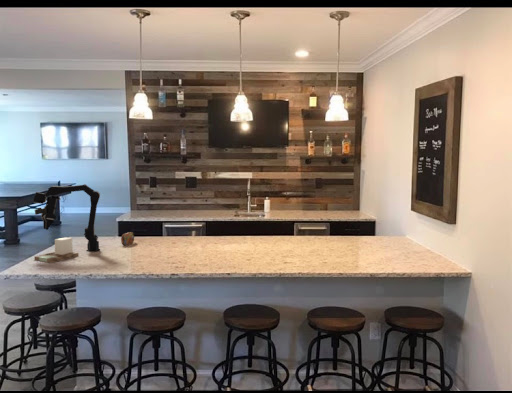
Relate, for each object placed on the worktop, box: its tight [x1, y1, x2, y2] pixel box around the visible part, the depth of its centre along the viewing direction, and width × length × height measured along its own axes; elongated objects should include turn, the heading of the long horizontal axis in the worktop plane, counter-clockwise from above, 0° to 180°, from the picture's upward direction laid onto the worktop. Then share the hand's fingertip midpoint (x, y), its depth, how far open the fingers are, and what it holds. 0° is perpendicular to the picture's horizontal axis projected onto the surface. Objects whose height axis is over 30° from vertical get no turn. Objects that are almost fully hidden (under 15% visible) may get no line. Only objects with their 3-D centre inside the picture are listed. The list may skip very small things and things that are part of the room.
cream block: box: [54, 237, 74, 255], centre depth 273 cm, size 8×6×9 cm
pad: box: [38, 255, 56, 263], centre depth 263 cm, size 6×7×2 cm
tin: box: [120, 231, 135, 247], centre depth 311 cm, size 15×3×8 cm, turn 168°
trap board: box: [33, 251, 79, 263], centre depth 269 cm, size 20×15×2 cm
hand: (45, 229), depth 278 cm, fingers open, 9 cm apart
